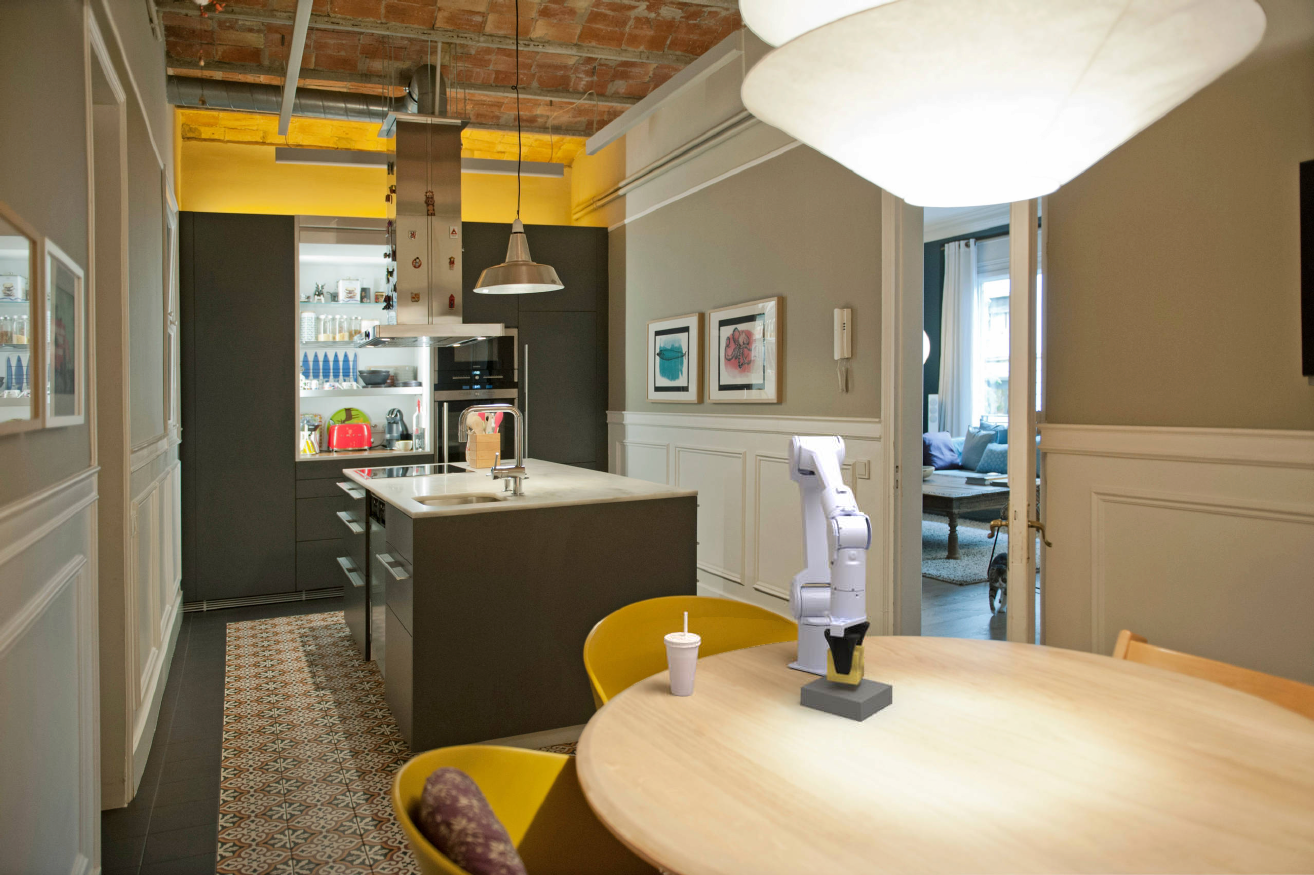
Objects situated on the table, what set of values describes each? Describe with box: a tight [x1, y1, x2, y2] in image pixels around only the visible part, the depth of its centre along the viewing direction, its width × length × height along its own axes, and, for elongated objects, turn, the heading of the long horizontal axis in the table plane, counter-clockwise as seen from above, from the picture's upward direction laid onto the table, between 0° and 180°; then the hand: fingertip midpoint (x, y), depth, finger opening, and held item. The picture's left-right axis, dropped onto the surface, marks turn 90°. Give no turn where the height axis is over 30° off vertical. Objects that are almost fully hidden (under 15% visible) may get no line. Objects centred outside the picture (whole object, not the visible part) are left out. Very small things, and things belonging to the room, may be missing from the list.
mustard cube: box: [827, 645, 865, 685], centre depth 139 cm, size 5×5×5 cm
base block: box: [800, 675, 893, 723], centre depth 139 cm, size 11×11×4 cm
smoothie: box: [663, 611, 702, 697], centre depth 144 cm, size 6×6×14 cm
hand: (846, 669), depth 139 cm, fingers closed on mustard cube, 5 cm apart
